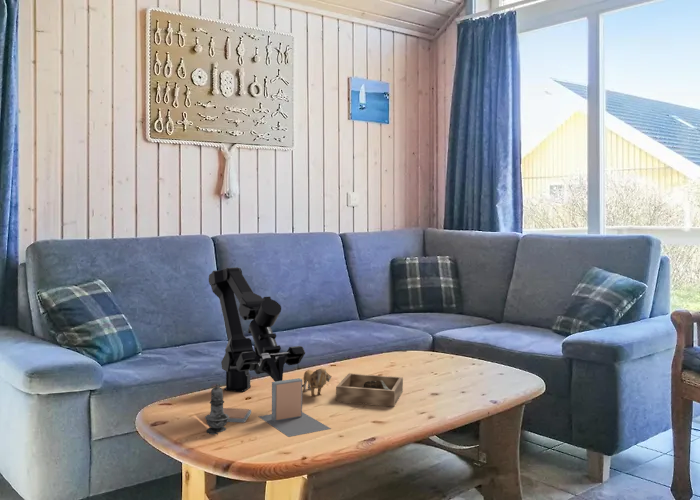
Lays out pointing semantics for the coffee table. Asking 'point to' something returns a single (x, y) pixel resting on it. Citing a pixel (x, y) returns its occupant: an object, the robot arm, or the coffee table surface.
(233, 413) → the tile
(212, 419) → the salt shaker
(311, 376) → the lion figurine
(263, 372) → the robot arm
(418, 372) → the coffee table surface
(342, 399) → the box
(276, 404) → the tile
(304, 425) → the mat
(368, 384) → the rock sample
